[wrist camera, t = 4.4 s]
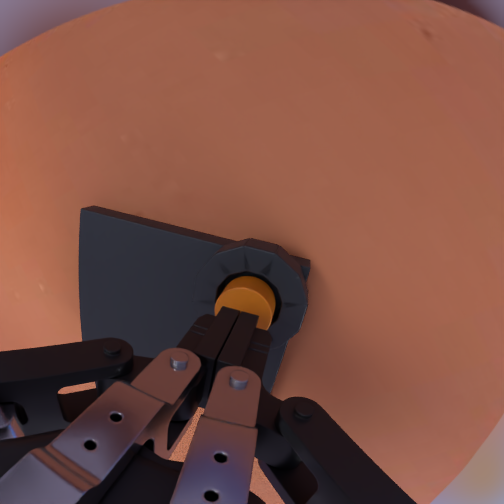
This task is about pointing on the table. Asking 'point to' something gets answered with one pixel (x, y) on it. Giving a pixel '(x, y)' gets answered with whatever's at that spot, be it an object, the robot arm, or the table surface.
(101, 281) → the dark grey flat slab
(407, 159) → the table surface
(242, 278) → the button
